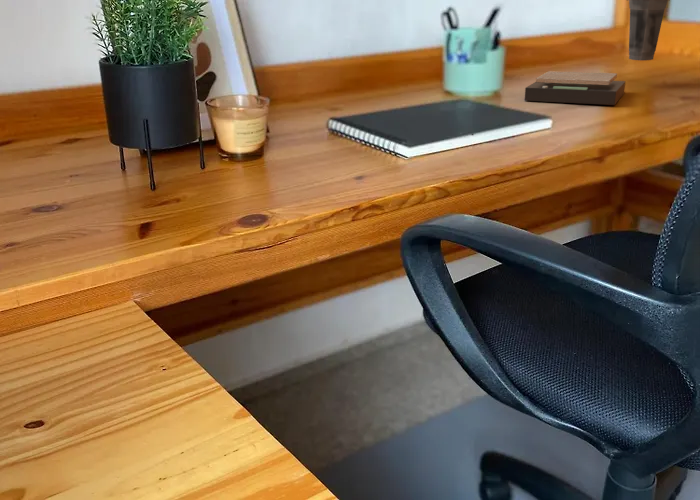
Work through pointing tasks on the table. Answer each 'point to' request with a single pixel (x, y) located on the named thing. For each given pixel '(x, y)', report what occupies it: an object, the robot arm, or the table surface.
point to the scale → (575, 93)
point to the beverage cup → (645, 27)
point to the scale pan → (577, 78)
